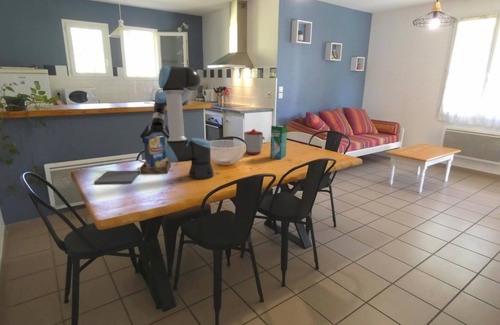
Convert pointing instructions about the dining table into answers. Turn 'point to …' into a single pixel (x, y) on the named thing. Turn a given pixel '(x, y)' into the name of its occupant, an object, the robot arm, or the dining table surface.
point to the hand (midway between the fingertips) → (155, 146)
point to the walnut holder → (155, 169)
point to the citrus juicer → (253, 141)
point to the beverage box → (155, 151)
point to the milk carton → (278, 141)
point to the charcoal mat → (117, 177)
